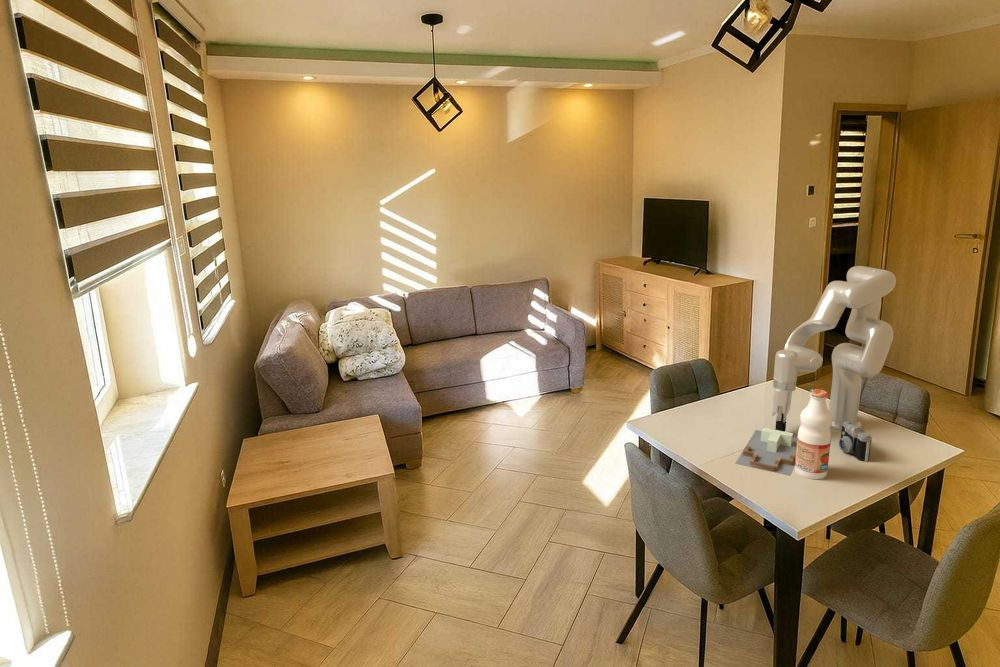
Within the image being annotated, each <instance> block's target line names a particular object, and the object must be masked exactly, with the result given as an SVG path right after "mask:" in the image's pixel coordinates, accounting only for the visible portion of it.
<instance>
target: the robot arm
mask: <svg viewBox="0 0 1000 667" xmlns="http://www.w3.org/2000/svg"><path fill="white" fill-rule="evenodd" d="M896 283H897V278H896V275H895V274H894V273H893V272H892V271H889V270H887V269H881V268H876V267H870V266H866V265H865V266H863V265H855V266H852V267H850V268H849V269H848V271H847V273H846V281H844V280H833V281H830V282H829V283H828V284H827V286H826V287H825V289H824V291H823V293H822V295H821V297H820V299H819V300H818V303H817V304H816V307H815V309H814V311H813V313H812V314H811V317H810V318H808V320H806V321H804V322H802V323H801V324H800V325H799V326H797V327H796V328H795V329H794V330H793V331H792V332H791V333H790V335H789V337H788V339H787V341H786V343H785V345H784V348H783V349H780V350H778V351H776V353H775V357H774V370H773V378H772V380H773V381H772V382H773V383H772V388H773V389H774V394H773V401H772V408H771V415H772V416H776V421H775V428H774V430H778V431H784V432H786V428H787V416H788V414H789V413H790V410H791V405H792V396H793V392H795V391H796V389H797V379H798V372H814V371H818V369H819V368H821V366H822V365H823V361H824V360H823V356H822V355H821V354H820V353H819V352H817V351H815V350H813V349H810V348H808V347H804V346H805V344H806V342H807V341H808V339H810V338H811V337H812V336H814V335H815V334H817V333H821V332H825V331H829V330H833V329H835V328H836V327H837V325H838V323H839V321H840V318H841V317H842V315H843V313H844V311H845V309H846V308H849V309H851V311H850V315H849V318H848V320H847V323H846V327H845V336H846V337H847V338H848V339H850V340H852V341H854V342H858V343H860V344H864V345H865V346H861V345H857V344H854V343H849V342H843V343H839V344H838V345H835V347H834V348H833V350H832V353H831V365H832V379H831V380H832V381H831V382H832V383H831V389H830V390H831V391H830V399H829V409H828V411H829V412H830V413H831V415H832V424H831V427H830V429H833V430H834V429H835V430H838V431H842V424H844V422H848V421H849V422H851V423H853V425H857V426H860V427H861V428H862V422H861V421H859V420H858V418H859V409H860V399H861V394H862V393H861V390H862V385H863V384H862V383H863V382H862V381H863V380H862V377H867V378H873V377H875V376H877V375H878V374H879V373H881V371H882V369H883V367H884V364H885V361H886V359H887V357H888V354H889V351H890V349H891V346H892V342H893V340H894V330H893V327H892V326H891V324H890V323H888V322H886V321H884V320H881V319H878V318H879V315H880V312H881V311H880V310H881V307H882V298H883V297H885V296H887V295H888V294H889V293H891V292H892V291H893V290H894V289H895V287H896Z"/></svg>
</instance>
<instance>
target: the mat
mask: <svg viewBox="0 0 1000 667" xmlns="http://www.w3.org/2000/svg"><path fill="white" fill-rule="evenodd" d="M747 445H751V449H750V451H751V452H756V453H758V458H757V460H756V462H759V463H763V464H768V465H774V463H775V461H776V459H777V457H780V458H784V459H789V458H790V455H791V453H792V454H795V459H796V448H797V436H796V437H795V436H793V440H792V445H791V447H789V446H784V445H780V446H779V448H778V450H777V452H771V451H767V442H764V441H761V430H758V429H755V430H754V432H753V434H752V435H751V437H750V438H749V440H748V442H747V443H746V445H745V447H744V448H743V450H742V451H741V454H740V455H739V457H738V458H737V460H736V461H735V463H734V464H735V465H739V466H744V467H749V468H753V469H757V470H761V471H766V472H770V473H776V474H779V475H784V476H789V477H791V475H792V473H793V470H794V469H795V459H794V461H793V464H792V466H790V465H786V464H781V463H780V465H779V467H778V469H777V471H776V470H775V471H774V472H773V471H768V470H764V469H759V468H755V467H751V465H750V460H751V458H752V457H748V456H743V451H744V449H745V448H746V446H747Z"/></svg>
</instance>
